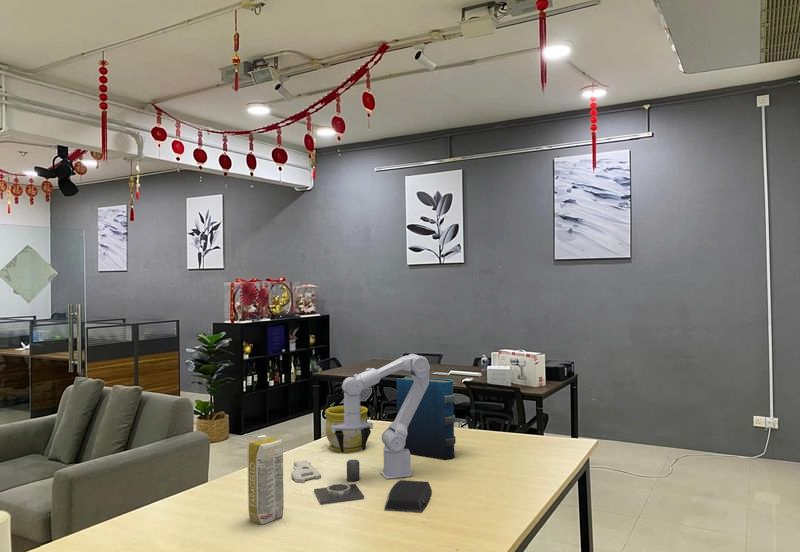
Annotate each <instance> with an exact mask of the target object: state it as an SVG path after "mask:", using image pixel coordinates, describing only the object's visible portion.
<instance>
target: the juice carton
mask: <svg viewBox="0 0 800 552" xmlns="http://www.w3.org/2000/svg"><path fill="white" fill-rule="evenodd" d="M247 444H248V445H247V501H248V502H247V504H248V507H247V508H248V516H249V520H250V521H252V522H255V523H258V524H260V525H265V524H268V523H270V522H272V521H275V520H278V519H281V518H283V516H284V508H285V507H284V504H285V501H284V500H285V499H284V495H285V494H284V446H283V440H282V439H281V438H276V437H273V436H267V435H266V434H264V435H263V434H262V435H258V436H257V440H251V441H248V443H247Z"/></svg>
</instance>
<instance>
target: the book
mask: <svg viewBox="0 0 800 552" xmlns="http://www.w3.org/2000/svg"><path fill="white" fill-rule="evenodd" d="M395 380H396V416H397V415H398V413H399V411H400V409H401V407H402V405H403V403H404V401H405V399H406V397H407V395H408V393H409V391H410V389H411V387H412V385H413V383H414V381H413V378H412V376H411V375H409V376H408V375H407V376H406V375H405V376H404V378H396V379H395ZM455 396H456V395H455V393H454V380H453V379H449V378H447V379H446V378H435V377H429V385H428V387H427V389H426V391H425V393H424V395H423V397H422V399H421V401H420V403H419V405H418V407H417V409H416V411H415V413H414V415H413V417H412V419H411V421H410V423H409V425H408V427H407V437H406V440H405V446H404V448H403V449H408V450H409V452H410V456H417V457H422V458H429V459H435V460H440V461H450V460H452V459H455V444H456V440H457V439H456V438H457V437H456V436H455V423H456V415H455V414H454V413H455V412H454V411H455V410H454V408H455V407H454V402H455V400H456V397H455Z"/></svg>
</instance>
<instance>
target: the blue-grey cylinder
mask: <svg viewBox="0 0 800 552" xmlns="http://www.w3.org/2000/svg"><path fill="white" fill-rule="evenodd" d="M360 470H361V469H360V460H358V459H348V460H347V461H346V481H347V482H348V483H357V482H360V479H361V478H360V477H361V475H360V474H361V473H360V472H361V471H360Z"/></svg>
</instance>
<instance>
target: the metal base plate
mask: <svg viewBox="0 0 800 552" xmlns="http://www.w3.org/2000/svg"><path fill="white" fill-rule="evenodd" d="M313 492H314V495H315V496H316V498H317V501H318V503H319V505H328V504H335V503H345V502H351V501H358V500H365V495H364V493H363V492H362V491H361V489H360V488H359V486H357V484H356V483H351V484H347V483H333V484H330V485H328V486H326V487H320V488H319V487H318V488H314V489H313Z"/></svg>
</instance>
